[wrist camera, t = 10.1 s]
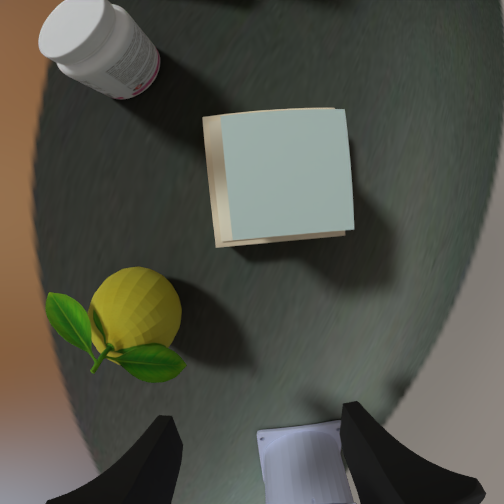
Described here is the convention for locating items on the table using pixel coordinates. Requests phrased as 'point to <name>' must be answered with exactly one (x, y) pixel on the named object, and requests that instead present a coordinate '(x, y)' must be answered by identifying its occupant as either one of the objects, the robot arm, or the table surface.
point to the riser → (221, 193)
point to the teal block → (287, 172)
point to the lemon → (125, 323)
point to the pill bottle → (100, 47)
